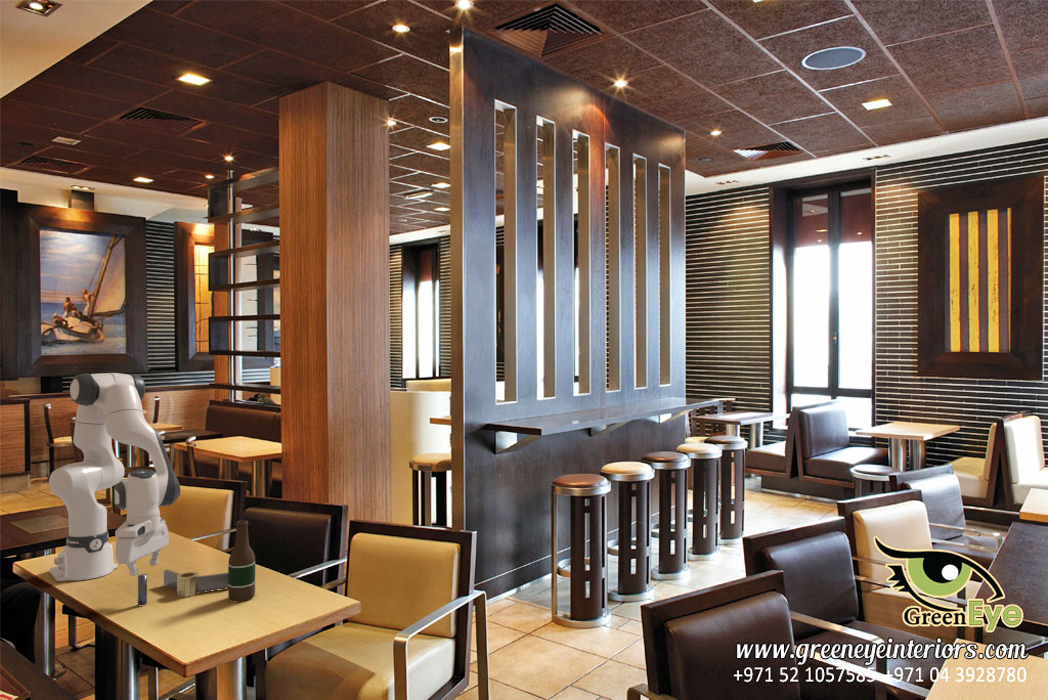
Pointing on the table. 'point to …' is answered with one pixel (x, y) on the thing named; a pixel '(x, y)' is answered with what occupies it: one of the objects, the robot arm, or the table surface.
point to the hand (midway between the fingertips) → (144, 570)
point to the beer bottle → (241, 566)
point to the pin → (142, 589)
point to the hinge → (194, 582)
